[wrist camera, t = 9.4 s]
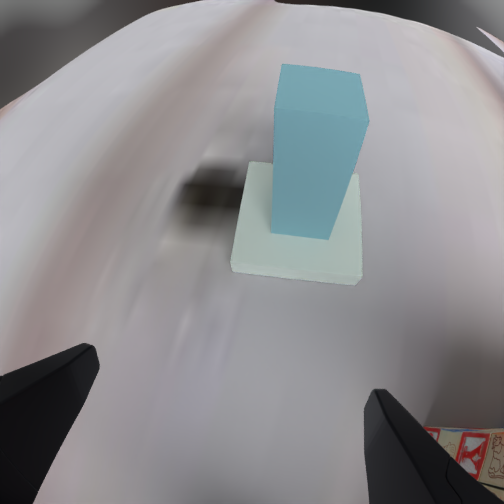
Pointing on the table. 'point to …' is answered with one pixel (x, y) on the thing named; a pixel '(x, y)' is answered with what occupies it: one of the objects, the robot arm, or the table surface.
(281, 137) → the teal pillar
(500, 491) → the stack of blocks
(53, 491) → the table surface
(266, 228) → the base tile
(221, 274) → the table surface
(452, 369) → the table surface
